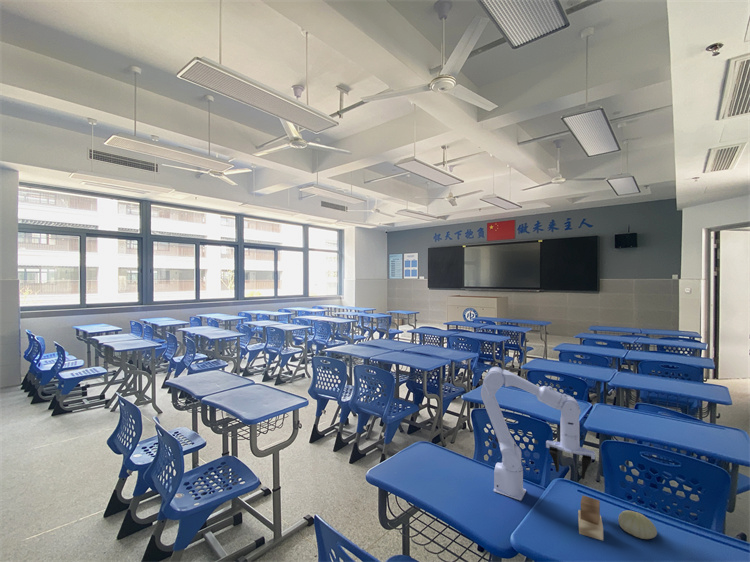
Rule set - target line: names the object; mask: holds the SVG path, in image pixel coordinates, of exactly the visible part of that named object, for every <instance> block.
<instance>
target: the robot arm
mask: <svg viewBox="0 0 750 562" xmlns="http://www.w3.org/2000/svg"><path fill="white" fill-rule="evenodd" d="M503 386H504V387H505V388H507V387H508V388H509V387H516V388H518V389H521V390H523V391H525V392H527V393H530V394H532V395H534V396H536V398H537V401H538V402H540V403H543V404H545V405H547V406H548V407H551V408H552V409H555V410H558V411H560V418H559V419H560V421H559V422H560V427H559V428H560V432H559V433H560V441H554V440H546V441H545V448H547V449H549V450H548V452H549V455H550V456H551V458H552V461H553V464H554V467H555V472H556V473H559V471H560V460H559V459H560V451H561V452H565V453H568V454H575V455H578V456H582V457H581V479H583V480H585V478H586V472H587V469H588V467H589V465H590V464H591V462H592V460H596V451H595V450H591V449H588V448H585V447H582V446H580V445H581V444H580V443H581V442H580V431H581V430H580V421H579V420H580V415H581V412H582V409H581V407H580V405H579V403H578V401H577V399H575V398H574V397H572V396H571V395H569V394H566V393H561V392H560V391H557V390H555V389H554V388H553V387H552V386H551V385H548V386H546V385H541V386H538V385H537V384H534V383H532V382H531V381H529V380H527V379H525V378H524V377H521V376H519V375H517V374H515V373H513V372H512V371H509V370H508V369H502V368H501V367H499V366H492V367H491V368H489V370H488V372H487V373H486V374H485V377H484V378H483V382H482V386H481V389H480V397H481V399H482V402H483V405H484V408H485V409H486V413H487V415H488V418H489V420H490V423H491V425H492V427H493V430H494V433H495V435H496V438H497V441H498V443H499V444H498V445H499V449H500V453H501V456H502V458H501V462H496V463H495V467H494V471H493V479H494V480H493V492H494V493H496V494H497V493H498V494H501V495H502V496H507V497H509V498H512V499H515V500H518V501H522V500H523V498H524V496H525V494H526V492H527V489H526V488H524V479H523V478H524V466H523V465H522V455H523V454H522V450H521V448H520V446H518V444H516V441H515V440H514V437H512V435H511V433H510V429H509V428H508V425H507V422H506V420H505V417H504V415H503V412H502V409H501V407H500V405H499V402H498V400H497V397H496V394H497V392H498V390H500V388H501V387H503Z"/></svg>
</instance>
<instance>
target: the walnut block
mask: <svg viewBox="0 0 750 562" xmlns="http://www.w3.org/2000/svg"><path fill="white" fill-rule="evenodd" d="M600 502H601V501H600V500H598V499H596V498H592V497H589V496H587V495H582V497H581V499H580V510H581V519H583V520H585V521H588V522H591V523H594V524H597V525H599V519H600V516H601V514H600V513H601V511H600V510H601V509H600V508H601V507H600V506H601V503H600Z"/></svg>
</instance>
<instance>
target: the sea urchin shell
mask: <svg viewBox="0 0 750 562" xmlns="http://www.w3.org/2000/svg"><path fill="white" fill-rule="evenodd" d="M617 519H618V524H619V526H620V528H621V529H622V530H623V531H624V532H626V533H628V534H629V535H632V536H634V537H635V538H638V539H643V540H651V539H654V538H655V537H657V534H658V531H657V530H658V529H657V527H656V526H655V524H654V523H653V522H652V520H650V519H649V518H648V517H646V516H645V515H644V514H642V513H640V512H637V511H635V510H634V511H633V510H627V509H626V510H624V511H622V512H620V513H619V514H618V518H617Z"/></svg>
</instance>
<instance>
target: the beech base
mask: <svg viewBox="0 0 750 562" xmlns="http://www.w3.org/2000/svg"><path fill="white" fill-rule="evenodd" d="M577 511H578V512H577V517H578V518H577V519H578V521H577V522H578V533H579V535H582V536H586V537H589V538H593V539H597V540H600V541H604V526H603V525H604V524H603V521H602V516H601V515H600V519H599V525H597V524H594V523H591V522H588V521H585V520H583V519H581V509H578V510H577Z"/></svg>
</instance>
